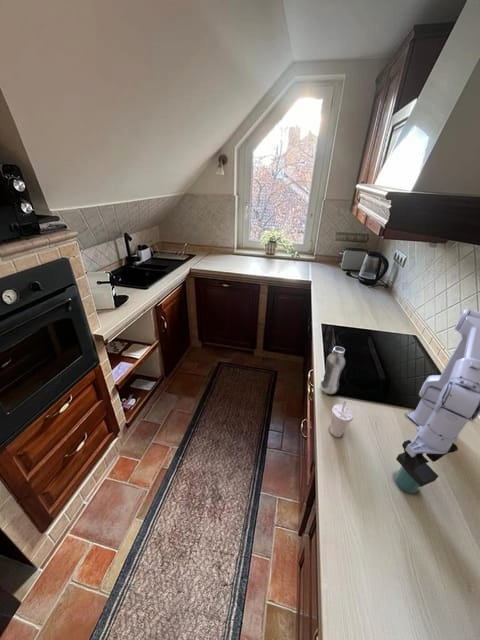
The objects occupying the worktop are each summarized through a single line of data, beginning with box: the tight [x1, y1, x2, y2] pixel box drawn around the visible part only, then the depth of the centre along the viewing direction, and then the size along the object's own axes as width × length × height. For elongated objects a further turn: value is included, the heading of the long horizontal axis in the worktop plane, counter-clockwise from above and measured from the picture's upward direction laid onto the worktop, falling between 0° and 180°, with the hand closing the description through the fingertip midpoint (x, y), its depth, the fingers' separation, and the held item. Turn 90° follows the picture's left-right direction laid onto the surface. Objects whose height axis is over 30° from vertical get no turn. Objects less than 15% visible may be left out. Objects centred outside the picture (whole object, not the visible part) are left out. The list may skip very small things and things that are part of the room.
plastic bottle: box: [320, 345, 346, 395], centre depth 95 cm, size 6×7×20 cm
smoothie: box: [329, 399, 355, 438], centre depth 80 cm, size 6×6×14 cm
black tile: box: [395, 451, 439, 488], centre depth 66 cm, size 8×5×2 cm, turn 19°
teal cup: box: [394, 465, 421, 495], centre depth 68 cm, size 5×5×6 cm
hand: (419, 462), depth 65 cm, fingers open, 7 cm apart
